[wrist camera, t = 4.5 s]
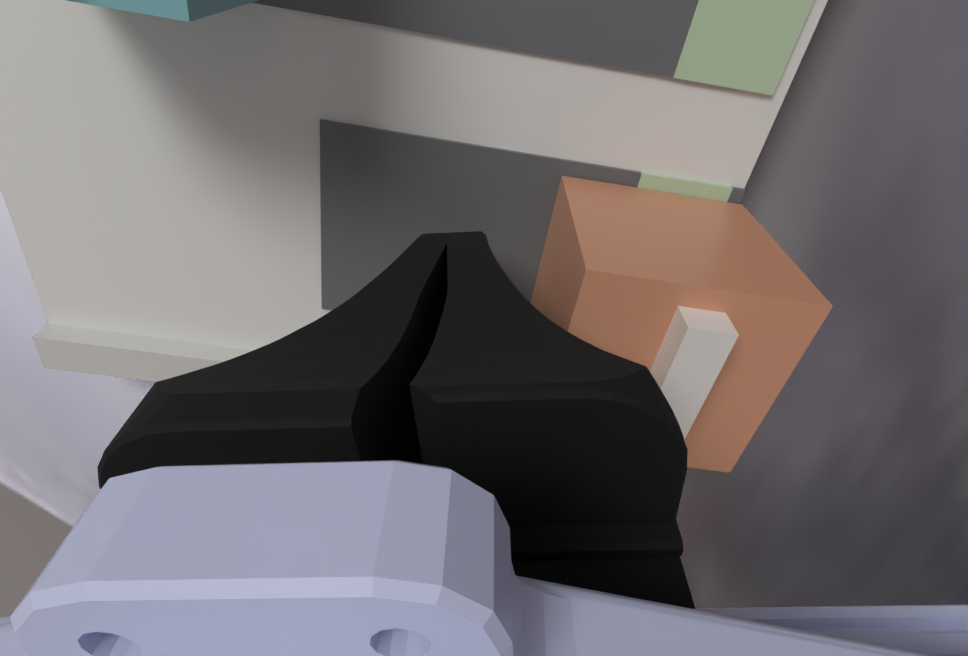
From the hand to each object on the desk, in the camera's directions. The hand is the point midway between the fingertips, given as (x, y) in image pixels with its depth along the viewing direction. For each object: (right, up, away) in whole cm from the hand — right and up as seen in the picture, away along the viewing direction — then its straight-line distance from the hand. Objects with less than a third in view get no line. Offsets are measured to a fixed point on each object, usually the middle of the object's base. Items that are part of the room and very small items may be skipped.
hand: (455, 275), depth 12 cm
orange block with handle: (+4, 0, +1) cm, 4 cm away
